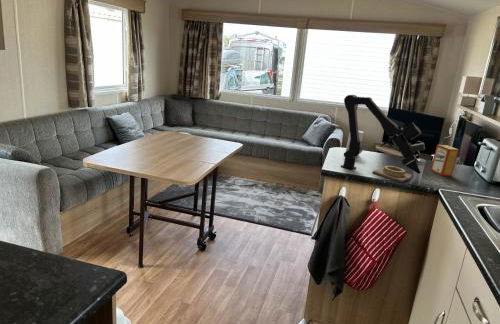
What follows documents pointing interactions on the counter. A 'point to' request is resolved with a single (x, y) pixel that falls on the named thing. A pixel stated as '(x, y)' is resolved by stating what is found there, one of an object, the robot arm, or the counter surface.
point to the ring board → (393, 173)
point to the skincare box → (350, 138)
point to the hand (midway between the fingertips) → (420, 171)
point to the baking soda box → (444, 160)
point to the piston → (415, 176)
